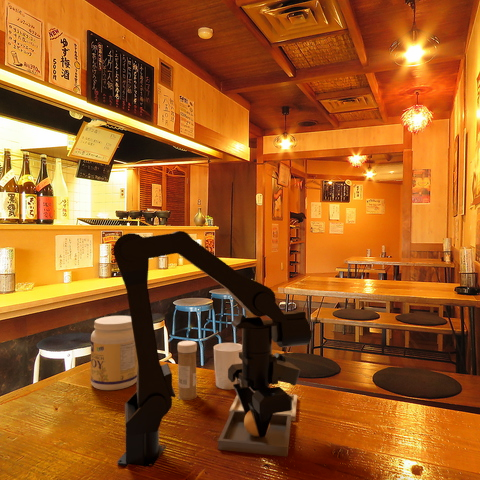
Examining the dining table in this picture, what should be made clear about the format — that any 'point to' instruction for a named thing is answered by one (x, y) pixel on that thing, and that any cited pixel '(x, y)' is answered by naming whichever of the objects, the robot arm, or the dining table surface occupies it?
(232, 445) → the dish
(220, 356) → the white cup
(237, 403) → the tray
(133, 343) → the supplement tub
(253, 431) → the ball
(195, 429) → the dining table surface
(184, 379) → the sprinkles bottle
